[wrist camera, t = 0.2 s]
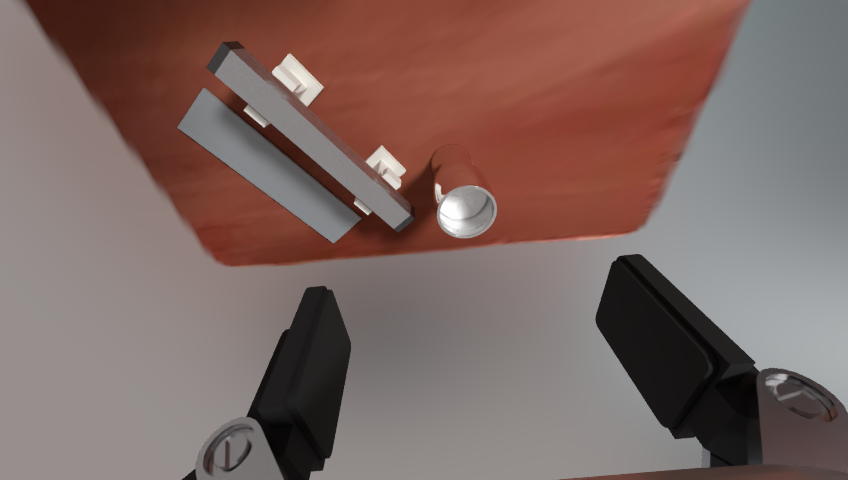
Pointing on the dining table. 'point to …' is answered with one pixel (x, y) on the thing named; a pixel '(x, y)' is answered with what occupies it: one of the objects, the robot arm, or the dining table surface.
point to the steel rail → (308, 132)
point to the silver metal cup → (461, 193)
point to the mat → (266, 166)
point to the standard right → (383, 172)
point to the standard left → (291, 85)
